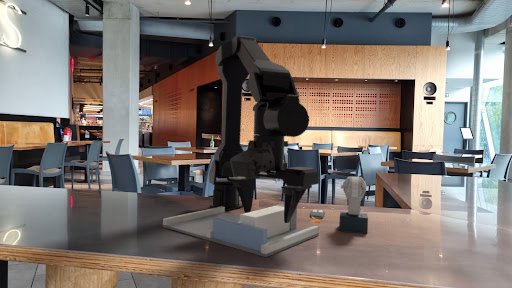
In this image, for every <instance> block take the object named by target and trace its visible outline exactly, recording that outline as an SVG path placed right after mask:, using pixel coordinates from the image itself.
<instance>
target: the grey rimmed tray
mask: <svg viewBox="0 0 512 288" xmlns="http://www.w3.org/2000/svg"><path fill="white" fill-rule="evenodd" d="M162 228H165V229H169V230H172V231H175V232H179V233H182V234H186V235H189V236H193V237H196V238H199V239H203V240H206V241H210V242H213V243H217V244H219V245H224V246H227V247H230V248H233V249H237V250H240V251H244V252H247V253H250V254H254V255H256V256H257V255H258V256H261V257H264V258H268V257H270V256H272V255H275V254H277V253H280V252H282V251H285V250H287V249H290V248H291V247H294V246H297V245H299V244H302V243H304V242H306V241H309V240H311V239H313V238H315V237H318V236H320V235H319V234H320V226H318V225H313V226H310V227H307V228H305V229H303V228H298V227H296V229H294V230H291V231H290V230H289V231H286V232H283V233H281V234H278V235H275V236H272V237H269V238H267V229H264V228H260V227H256V226H251V225H247V224H243V223H240V214H234V213H231V212H230V213H229V212H227V211H226V210H225V207H222V206H221V207H217V208H213V207H211V208H208V209H202V210H198V211H193V212H189V213H183V214H179V215H174V216H169V217H164V218H163V219H162ZM308 239H309V240H308Z"/></svg>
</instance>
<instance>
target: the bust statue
mask: <svg viewBox="0 0 512 288" xmlns="http://www.w3.org/2000/svg"><path fill="white" fill-rule="evenodd" d="M367 187H368V186H367V183H366V181H365V180H364V178H363V177H361V176H351V175H350V176H347V178H345V180H344V181H343V183H342V184H340V189H342V190H343V193H344V195H345V198H346V200H348V203H347V204H348V206H347V211H340V212H339V227H338V228H339V229H338V231H339V232H346V233H347V232H348V233H359V234H365V235H366V234H368V233H369V232H368V231H369V230H368V228H369V216H368V213H366V212H365V213H364V212H361V201H362V200H363V198H364V195H365V194H366V192H367Z"/></svg>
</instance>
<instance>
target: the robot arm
mask: <svg viewBox="0 0 512 288" xmlns="http://www.w3.org/2000/svg"><path fill="white" fill-rule="evenodd" d="M215 65H216V67H217V75H218V76H219V78H220V79H219V80H221V82H222V84H223V93H222V114H221V115H222V117H221V118H222V121H221V123H222V124H221V143H220V144H219V146H218V147H217V148H216V150H215V152H214V158H213V160H212V162H211V166H210V169H209V173H208V183H209V184H210V185H211V184H212V185H213V190H212V203H211V204H209V205H208V207H210V208H217V207H221V206H222V207H225V211H231V210H235V209H239V208H243V211H244V213H248V212H252V208H253V207H252V206H253V201H254V194H255V187H256V181H257V177H261V178H269V179H277V180H282V182H283V183H284V184H285V185H281V187H280V188H281V190H282V193H283V194H284V202H283V203H284V204H283V205H284V222H285V223H289V222H290V220H291V218H292V216H293V213H294V211H295V209H296V207H297V208H298V206H299V203H300V201H301V199H302V198H303V196H304V194H305V193H306V191H307V190H308V189H312V188H313V186H315V185H318V184H319V181H320V179H319V178H320V177H319V176H320V175H319V173H318V171H317V169H316V168H315V167H306V166H305V167H304V166H294V167H288V162H284V160H285V159H284V157H285V155H284V154H285V147H286V148H288V147H289V141H288V140H285V137H289V138H296V137H298V136H299V137H300V136H301V135H303V134H304V133H305V132H306V131H307V129H308V127H309V124H310V115H309V113H308V110H307V109H306V107H305V105H303V104H302V103H301V101H300V93H299V92H298V90H297V88H296V85H295V81H294V79H293V77H292V74H291V72H290V70H289V69H287V68H286V67H285V66H283V65H281V64H279V63H275V62H273V61H272V60H271V59H270V58H269V57H268V55H267V54H266V53H265V52H264V50H263V49H262V47H261V46H260V45H259V41H258V39H257V38H255V37H253V36H247V35H237V36H233V38H232V39H231V40H229V41H226V42H224V43H222V44H220V46H219V48H218V49H217V51H216V54H215ZM247 78H248V82H247V86H248V90H249V92H250V94H251V96H252V98H253V100H254V102H255V104H254V105H253V107H252V111H253V112H254V114H253V139H251V140H249V141H248V143H247V149H245V150H244V149H243V146H242V145H241V130H242V129H241V127H242V126H241V125H242V106H243V105H242V103H243V100H242V99H243V85H244V83H245V81H246V80H247ZM240 202H241V204H240Z"/></svg>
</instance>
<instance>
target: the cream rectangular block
mask: <svg viewBox="0 0 512 288" xmlns="http://www.w3.org/2000/svg"><path fill="white" fill-rule="evenodd" d="M297 209H298V206H297V207H296V209H295V211H294V213H293V216H292V218H291V220H290V222H289V223H285V222H284V204H283V203H277V204H275V205H274V206H269V207H266V208H265V207H264V208H261V209H256V210H253V211H252V210H251V212H248V213H245V212H244V213H240V214H239V215H240V223H243V224H247V225H251V226H256V227H260V228H264V229H267V238H269V237H272V236H275V235H278V234H281V233H283V232H286V231H289V230H290V231H291V230H294V229H296V228H297V221H298V220H297V216H298V215H297V214H298V213H297V212H298V211H297Z"/></svg>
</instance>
